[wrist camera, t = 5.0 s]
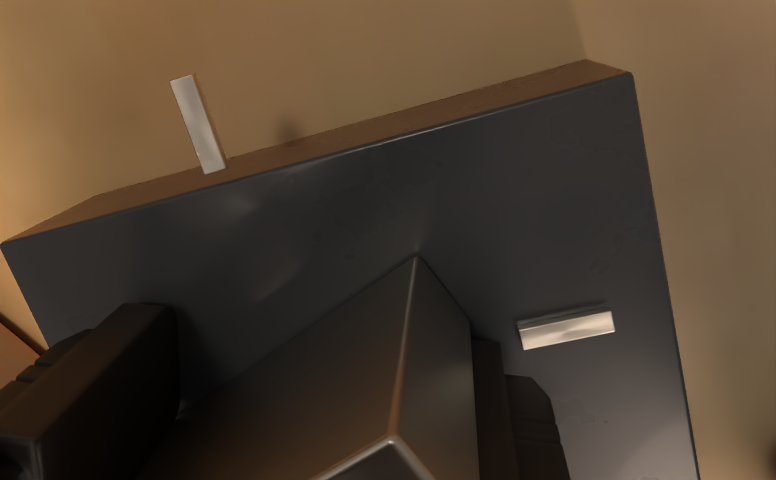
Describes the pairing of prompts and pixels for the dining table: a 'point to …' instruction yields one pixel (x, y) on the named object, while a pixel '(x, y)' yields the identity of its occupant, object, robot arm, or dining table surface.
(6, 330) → the lamp
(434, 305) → the grey rectangular plate
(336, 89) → the dining table surface
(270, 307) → the dial block
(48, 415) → the robot arm
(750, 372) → the dining table surface
